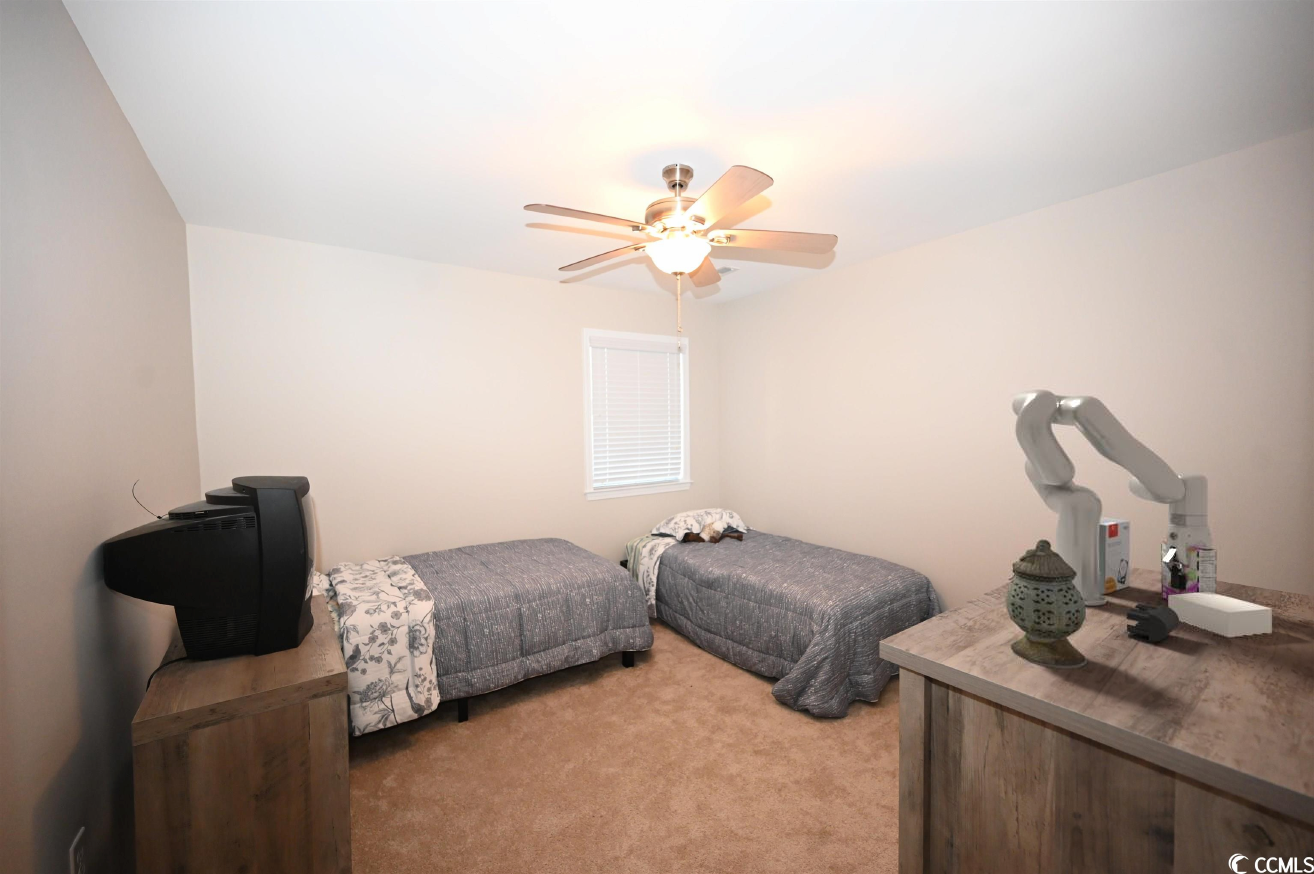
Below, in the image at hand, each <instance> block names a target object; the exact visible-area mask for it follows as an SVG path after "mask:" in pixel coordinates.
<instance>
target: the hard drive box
mask: <svg viewBox="0 0 1314 874" xmlns="http://www.w3.org/2000/svg"><path fill="white" fill-rule="evenodd" d="M1130 530H1131V520H1128V519H1127V520H1126V519H1118V518H1112V517H1105V516H1104V517H1103V516H1101V520H1100V527H1099V594H1101V595H1106V594H1111V593H1113V592H1115V591H1118V590H1119V591H1120V590H1121V589H1125V588H1128V587H1130V555H1131V554H1130V546H1131V545H1130V543H1131V542H1130V541H1131V540H1130V536H1131V533H1130V532H1131V531H1130Z"/></svg>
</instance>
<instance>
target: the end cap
mask: <svg viewBox="0 0 1314 874" xmlns="http://www.w3.org/2000/svg"><path fill="white" fill-rule="evenodd" d="M1134 607H1135V608H1130V609H1128V610H1127V612H1126V620H1129V621H1134V622H1136V623H1135V625H1132V624H1128V623H1127V624H1126V631H1127V638H1128V637H1129V638H1128V639H1132V640H1136V641H1140V640H1141V642H1144V641H1145V643H1148V644H1149V643H1150V644H1154V643H1157V642H1159V641H1162V640H1163V639H1165V638H1166V637H1167V636H1168V635H1170V634H1171V633H1172V632H1173V631H1174V630H1176V629H1177V628H1178V627H1179V624H1180V621H1179V617H1178V615H1177V614H1176V612H1175V611H1174V610H1172V609H1171V608H1169V607H1168V606H1166V605H1165V604H1161V605H1159V606H1158V607H1157V606H1154V605H1148V604H1143V603H1138V604H1136V605H1135V606H1134Z"/></svg>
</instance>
